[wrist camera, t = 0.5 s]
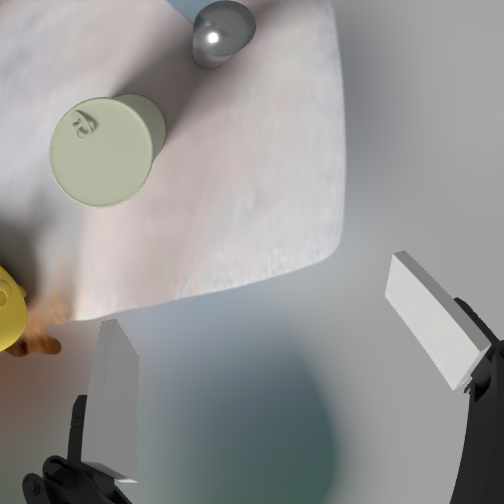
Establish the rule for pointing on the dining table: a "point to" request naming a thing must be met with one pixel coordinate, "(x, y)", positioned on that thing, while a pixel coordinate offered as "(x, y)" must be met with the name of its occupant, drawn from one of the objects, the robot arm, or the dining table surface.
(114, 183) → the can
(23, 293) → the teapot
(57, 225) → the dining table surface
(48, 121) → the dining table surface
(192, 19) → the socket block
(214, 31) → the peg
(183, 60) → the dining table surface
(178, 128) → the dining table surface
